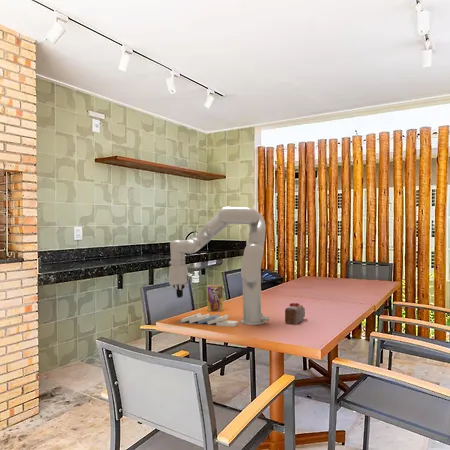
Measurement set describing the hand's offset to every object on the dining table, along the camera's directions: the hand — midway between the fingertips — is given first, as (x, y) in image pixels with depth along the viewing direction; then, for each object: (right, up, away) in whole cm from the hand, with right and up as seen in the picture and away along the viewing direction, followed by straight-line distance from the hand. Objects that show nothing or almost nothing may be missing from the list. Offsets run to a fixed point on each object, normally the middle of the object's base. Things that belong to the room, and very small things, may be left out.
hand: (179, 297), depth 210 cm
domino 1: (+2, -12, -1) cm, 12 cm away
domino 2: (+6, -12, -2) cm, 14 cm away
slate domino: (+11, -12, -4) cm, 17 cm away
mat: (+13, -13, -4) cm, 19 cm away
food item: (+61, -12, -4) cm, 63 cm away
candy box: (+18, -13, +26) cm, 35 cm away
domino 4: (+21, -12, -8) cm, 25 cm away
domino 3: (+16, -12, -6) cm, 21 cm away
